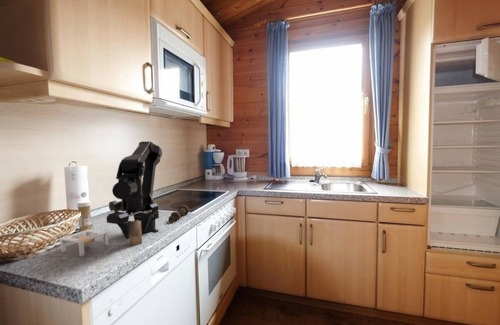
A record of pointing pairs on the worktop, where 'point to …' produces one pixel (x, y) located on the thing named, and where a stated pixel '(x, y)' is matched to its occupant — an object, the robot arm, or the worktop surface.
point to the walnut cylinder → (135, 233)
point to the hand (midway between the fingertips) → (135, 235)
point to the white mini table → (81, 249)
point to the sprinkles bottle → (84, 215)
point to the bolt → (179, 213)
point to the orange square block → (86, 241)
